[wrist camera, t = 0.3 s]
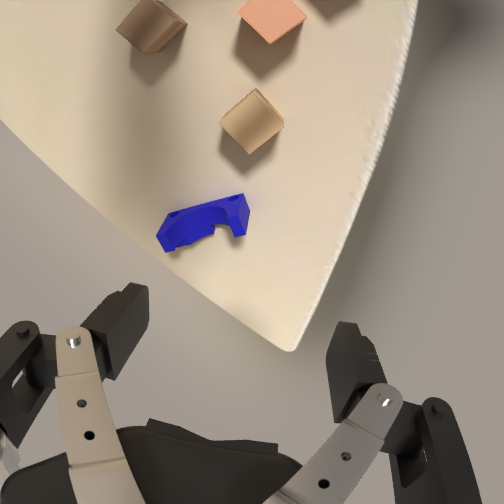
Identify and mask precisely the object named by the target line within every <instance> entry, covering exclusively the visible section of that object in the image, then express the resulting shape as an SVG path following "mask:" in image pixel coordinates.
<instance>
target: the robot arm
mask: <svg viewBox="0 0 504 504" xmlns="http://www.w3.org/2000/svg"><path fill="white" fill-rule="evenodd" d="M148 322H149V292H148V287H147V286H145V285H140V284H136V283H131V282H130V283H129V284H128V285H127V287H125V288H124V290H123V291H122V292H120V291H116V292H114V293H112V294H110V295H108V296H107V297H106V298H105V299H104V300H103V302H102V303H101V304H100V305H99V306H98V307H97V309H95V310H94V311H93V312H92V313H91V314H90V315H89V316H88V317H87V319H86V320H85V321H84V322H83V323H82V324H81V325H80V326H71V327H67V328H64V329H62V330H61V331H60V332H59V333H58V334H57V336H54V335H46V334H40V331H39V328H38V326H37V324H36V323H34V322H32V321H20V322H18V323H15V324H14V325H12V326H11V327H10V328H9V329H8V330H7V331H6V332H5V333H4V335H3V336H2V337H1V338H0V504H343V503H344V502H345V501H346V499H347V498H348V497H349V495H350V494H351V492H352V491H353V490H354V488H355V487H356V486H357V484H358V483H359V481H360V480H361V479H362V477H363V475H364V474H365V472H366V471H367V470H368V468H369V467H370V465H371V463H372V462H373V460H374V459H375V457H376V456H377V454H378V452H379V451H381V452H385V453H389V459H390V465H391V472H392V479H393V487H394V495H395V503H396V504H482V501H481V497H480V493H479V489H478V485H477V482H476V478H475V475H474V472H473V468H472V465H471V462H470V459H469V455H468V452H467V450H466V446H465V443H464V441H463V438H462V435H461V432H460V429H459V427H458V424H457V421H456V419H455V416H454V413H453V411H452V409H451V407H450V406H449V404H448V403H447V402H445V401H444V400H442V399H439V398H436V397H430V398H428V399H426V400H425V401H424V403H423V404H422V405H416V404H413V403H409V402H406V401H403V397H402V395H401V393H400V392H399V391H398V390H397V389H396V388H394V387H393V386H391V385H389V384H388V383H387V380H386V378H385V375H384V372H383V369H382V367H381V363H380V362H379V358H378V355H376V353H377V352H376V350H375V347H374V344H373V343H372V342H371V341H370V340H369V339H368V338H367V337H366V336H361V333H360V331H359V328H358V325H357V324H356V323H349V322H342V321H339V322H338V324H337V326H336V329H335V331H334V334H333V337H332V339H331V342H330V345H329V347H328V350H327V354H326V368H327V374H328V381H329V388H330V395H331V402H332V409H333V417H334V423H341V424H340V425H339V427H338V428H337V429H336V430H335V431H334V432H333V434H332V435H331V436H330V437H329V438H328V439H327V441H326V442H325V443H324V444H323V445H322V446H321V448H320V449H319V450H318V451H317V452H316V453H315V454H314V455H313V456H312V457H311V458H310V459H309V461H308V462H307V463H306V464H305V465H304V466H302V465H301V464H300V463H299V462H297V461H296V460H294V459H292V458H290V457H288V456H286V455H284V454H281V453H278V444H276V443H266V442H259V441H252V440H225V441H212V440H208V439H206V438H204V437H201V436H199V435H197V434H195V433H192V432H190V431H188V430H186V429H184V428H182V427H180V426H175V425H172V424H168V423H165V422H161V421H158V420H154V419H151V418H149V420H148V422H147V425H146V426H129V427H124V428H120V429H117V430H116V429H115V426H114V423H113V420H112V417H111V413H110V410H109V407H108V403H107V400H106V397H105V393H104V389H103V386H102V382H103V380H104V379H105V377H106V378H108V379H111V380H114V381H115V379H116V378H117V376H118V375H119V373H120V371H121V370H122V368H123V366H124V365H125V363H126V361H127V360H128V358H129V356H130V355H131V353H132V352H133V350H134V348H135V347H136V345H137V344H138V342H139V340H140V339H141V337H142V336H143V334H144V332H145V331H146V329H147V326H148ZM21 370H22V372H23V374H22V376H21V377H20V378H19V380H18V381H17V383H16V384H15V385H14V387H13V388H12V384H13V381H14V379H15V378H16V376H17V375H18V374H19V373H20V371H21ZM53 389H56V395H57V402H58V409H59V416H60V422H61V428H62V433H63V438H64V444H65V448H66V452H64V453H61V454H59V455H57V456H54V457H52V458H49V459H46V460H44V461H41V462H39V463H36V464H33V465H30V466H28V467H25V468H22V469H19V460H20V458H19V453H18V450H17V449H18V447H19V446H20V444H21V442H22V440H23V438H24V437H25V435H26V433H27V431H28V430H29V428H30V426H31V425H32V423H33V421H34V420H35V418H36V416H37V414H38V413H39V411H40V410H41V408H42V406H43V405H44V403H45V401H46V400H47V398H48V397H49V395H50V394H51V392H52V390H53ZM424 451H425V453H424ZM425 455H426V457H425ZM426 459H427V461H426Z"/></svg>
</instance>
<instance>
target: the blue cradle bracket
mask: <svg viewBox="0 0 504 504" xmlns="http://www.w3.org/2000/svg"><path fill="white" fill-rule="evenodd" d="M249 214H250V210H249V207H248V204H247V202H246V199H245V196H244V194H243V193H242V194H238V195H234V196H230V197H226V198H222V199H219V200H215V201H211V202H207V203H204V204H200V205H196V206H193V207H189V208H186V209H182V210H179V211H175V212H172V213H169V214H168V215H167V217H166V219H165V220H164V222H163V224H162V226H161V227H160V229H159V231H158V233H157V235H156V237H157V239H158V240H159V242H160V244H161V246H162V247H163V249H164V251H165V253H166V252H170V251H174V250H175V248H177V247H181V246H185V245H190V244H192V243H193V242H195V241H197V240H198V239H200V238H202V237H205V236H207V235H210V234H214V231H215V227H214V224H225V225H229V226H230V227H231V230H232V232H233V234H234V237H238V236H242V235H246V231H247V225H248V220H249Z"/></svg>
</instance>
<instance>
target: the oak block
mask: <svg viewBox="0 0 504 504" xmlns="http://www.w3.org/2000/svg"><path fill="white" fill-rule="evenodd" d="M219 124H220V125H221V126H222V127H223V128H224V129H225V130H226V131H227V132H228V133H229V134H230V135H231V136H232V137H233V138H234V139H235V140H236V141H237V142H238V143H239V144H240V146H241V147H242V148H243V149H244V150H245V151H246V152H247V153H248V154H251V153H252V152H253V151H254V150H256V149H257V148H258V147H259V146H261V145H262V144H263V143H264V142H266V141H267V140H268V139H270V138H271V137H272V136H273V135H275V134H276V133H277V132H279V131H280V130H281V129H282V128H284V121H283V117H282V116H281V114H280V113H279V112H278V111H277V110H276V109H275V108H274V107H273V106H272V105H271V104H270V102H269V101H268V100H267V99H266V98H265V97H264V96H263V95H262V94H261V93H260V92H259V91H258V90H257V89H256V88H255V89H254V90H253V91H252V92H251V93H249V94H248V95H247V96H246V97H245V98H243V99H242V100H241V101H240V102H239V103H238V104H236V105H235V106H234V107H233V108H232V109H231V110H229V111H228V112H227V113H226V114H225V115H224V117H223V118H222V119H221V120H220V122H219Z"/></svg>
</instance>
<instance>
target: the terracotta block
mask: <svg viewBox="0 0 504 504" xmlns="http://www.w3.org/2000/svg"><path fill="white" fill-rule="evenodd" d="M236 12H237V13H238V14H239V15H240V16H241V17H242V18H243V19H244V20H245V21H246V22H247V23H249V24H250V25H251V26H252V27H253V28H254V29H255V30H256V31H257V32H258V33H259V34H260V35H261V36H262V37H263V38H264V39H265V40H266V41H267V42H268V43H269V44H270V45H272V44H273V43H274V42H276V41H277V40H278V39H280V38H281V37H282V36H284V35H285V34H286V33H288V32H289V31H291V30H292V29H293V28H295V27H296V26H298V25H299V24H300V23H302V22H303V21H304V20H305V19H306V18H307V15H306V14H305V13H304V12H303V11H302V10H301V9H300V8H299V7H298V6H297V5H296V4H295V3H294V2H293V1H292V0H250V1H249V2H248V3H246V4H245V5H244V6H243V7H241V8H240V9H239V10H237V11H236Z"/></svg>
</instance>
